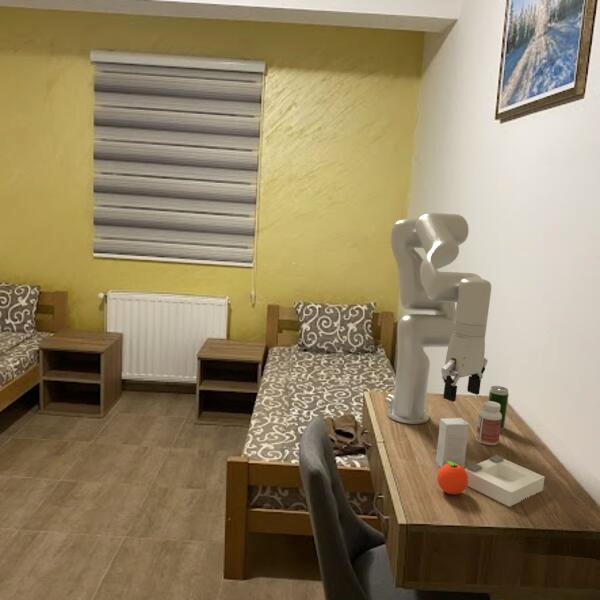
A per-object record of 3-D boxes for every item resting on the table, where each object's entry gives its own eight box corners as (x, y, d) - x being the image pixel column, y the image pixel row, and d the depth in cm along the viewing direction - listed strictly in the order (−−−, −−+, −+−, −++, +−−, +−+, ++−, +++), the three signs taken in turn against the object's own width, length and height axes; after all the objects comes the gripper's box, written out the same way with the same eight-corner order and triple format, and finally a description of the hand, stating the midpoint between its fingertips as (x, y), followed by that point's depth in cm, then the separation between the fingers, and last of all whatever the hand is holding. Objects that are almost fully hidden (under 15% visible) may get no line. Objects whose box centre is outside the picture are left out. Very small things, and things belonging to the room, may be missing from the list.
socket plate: (461, 482, 150) (463, 466, 150) (495, 468, 159) (497, 453, 158) (509, 506, 141) (511, 490, 140) (542, 490, 149) (545, 474, 149)
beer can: (490, 431, 183) (496, 392, 181) (481, 423, 189) (486, 385, 186) (507, 430, 185) (512, 391, 182) (497, 423, 190) (503, 385, 187)
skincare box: (456, 461, 162) (462, 417, 159) (464, 469, 158) (469, 424, 155) (434, 462, 161) (439, 418, 158) (441, 469, 156) (447, 424, 154)
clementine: (427, 484, 148) (430, 456, 147) (452, 481, 151) (455, 454, 149) (446, 501, 141) (450, 472, 140) (472, 498, 143) (476, 469, 142)
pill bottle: (503, 443, 175) (508, 405, 173) (488, 447, 172) (493, 409, 170) (485, 435, 180) (490, 398, 178) (470, 438, 177) (475, 401, 175)
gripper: (477, 322, 160) (469, 386, 164) (434, 329, 149) (427, 397, 153) (503, 329, 155) (494, 395, 158) (461, 337, 144) (452, 407, 147)
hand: (461, 396), depth 155 cm, fingers open, 9 cm apart
